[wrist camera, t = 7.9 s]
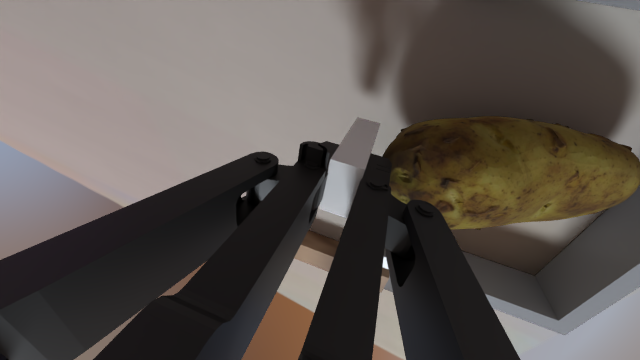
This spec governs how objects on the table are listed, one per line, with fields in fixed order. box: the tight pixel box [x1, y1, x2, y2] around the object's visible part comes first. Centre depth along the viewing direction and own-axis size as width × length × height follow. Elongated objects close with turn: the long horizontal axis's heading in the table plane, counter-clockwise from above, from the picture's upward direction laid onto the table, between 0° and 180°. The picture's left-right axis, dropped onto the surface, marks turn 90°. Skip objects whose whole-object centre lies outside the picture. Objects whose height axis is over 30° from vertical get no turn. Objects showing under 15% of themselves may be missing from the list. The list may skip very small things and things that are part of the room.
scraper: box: [294, 230, 393, 292], centre depth 25 cm, size 14×5×2 cm, turn 80°
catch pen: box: [383, 0, 640, 335], centre depth 15 cm, size 20×16×4 cm
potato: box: [382, 116, 640, 230], centre depth 14 cm, size 8×13×8 cm, turn 70°
